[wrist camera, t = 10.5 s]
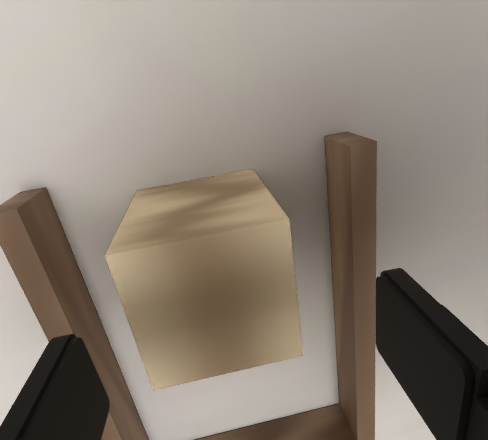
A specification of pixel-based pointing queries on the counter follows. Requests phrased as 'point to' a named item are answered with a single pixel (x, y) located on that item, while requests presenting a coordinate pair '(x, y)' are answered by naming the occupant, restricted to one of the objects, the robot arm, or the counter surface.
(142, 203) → the light wooden block
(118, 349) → the counter surface
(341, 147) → the bay
